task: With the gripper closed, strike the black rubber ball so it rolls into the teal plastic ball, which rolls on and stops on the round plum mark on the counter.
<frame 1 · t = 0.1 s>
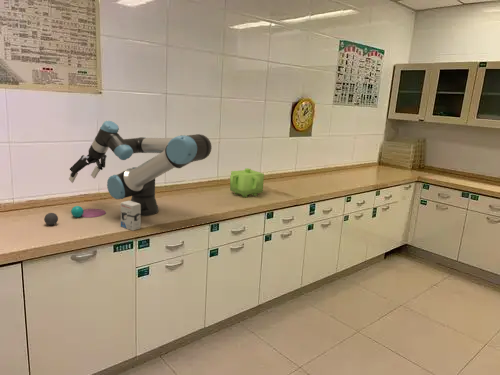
hand: (82, 178, 196), 15 cm above the counter, tool tilted 35°, fingers open, 13 cm apart
green ribbed block: (246, 194, 248), on the counter
plum mark: (91, 213, 191), on the counter
teal ball: (77, 211, 183), on the counter
ink box: (130, 227, 175), on the counter
black ball: (51, 218, 171), on the counter
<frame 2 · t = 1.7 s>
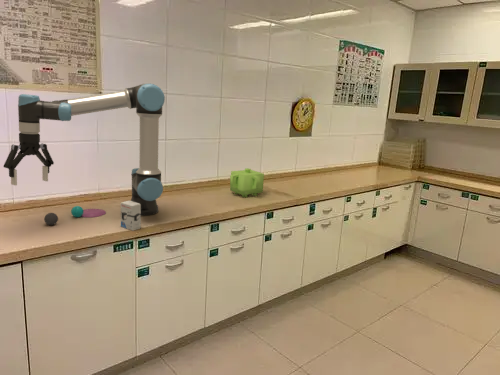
hand: (30, 182, 162), 20 cm above the counter, tool pointing down, fingers open, 13 cm apart
nothing on the counter moved.
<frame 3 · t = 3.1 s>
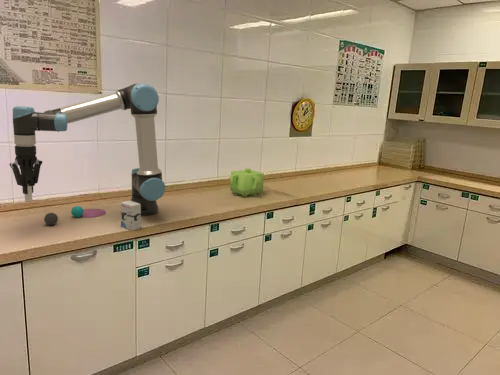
hand: (28, 200, 160), 13 cm above the counter, tool pointing down, fingers closed
nothing on the counter moved.
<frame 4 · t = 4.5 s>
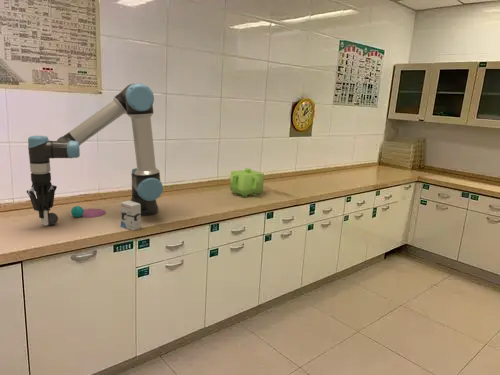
hand: (44, 224, 168), 1 cm above the counter, tool pointing down, fingers closed
black ball: (51, 218, 171), on the counter, touching gripper
everything else where it was.
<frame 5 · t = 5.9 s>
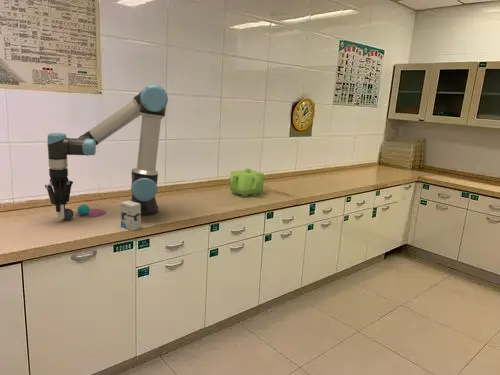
hand: (61, 217, 175), 2 cm above the counter, tool pointing down, fingers closed
teal ball: (83, 209, 186), on the counter
black ball: (67, 214, 178), on the counter
everything else where it was.
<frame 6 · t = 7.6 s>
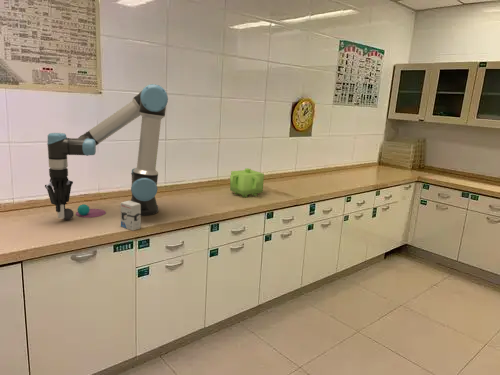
hand: (61, 217, 175), 2 cm above the counter, tool pointing down, fingers closed
nothing on the counter moved.
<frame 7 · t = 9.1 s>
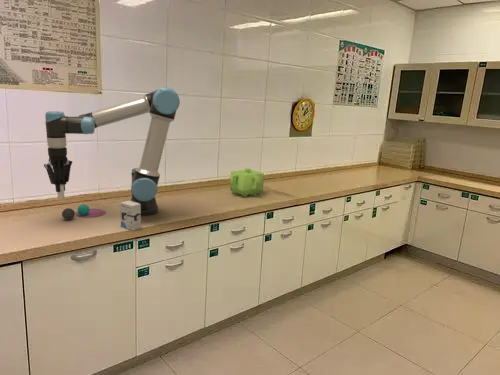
hand: (61, 198, 173), 11 cm above the counter, tool pointing down, fingers closed
nothing on the counter moved.
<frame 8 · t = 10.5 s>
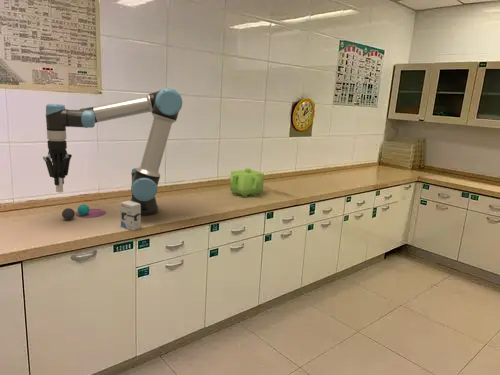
hand: (59, 191, 172), 14 cm above the counter, tool pointing down, fingers closed
nothing on the counter moved.
at the end: teal ball 4.4 cm from the plum mark (horizontally); teal ball never touched the robot; black ball first touched teal ball at 4.9 s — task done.
